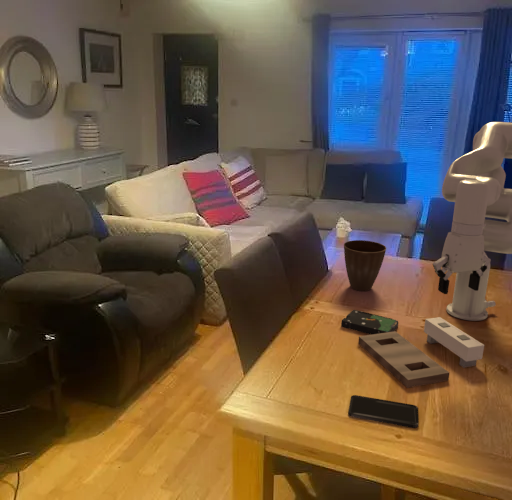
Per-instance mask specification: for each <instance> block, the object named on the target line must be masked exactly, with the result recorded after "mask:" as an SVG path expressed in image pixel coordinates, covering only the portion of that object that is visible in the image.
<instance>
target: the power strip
mask: <svg viewBox="0 0 512 500" xmlns="http://www.w3.org/2000/svg"><path fill="white" fill-rule="evenodd" d="M423 332H424V333H425V334H427V335H426V336H427V337H426V342H427V343H429V344H430V345H431V344H436V343H437V344H438V343H439V344H441V345H442V346H443V347H445V348H446V349H448V350H449V351H450V352H452V353H453V354H455V355H456V356H458V357H459V366H461V367H462V368H463V369H464V368H469V367H474V366H477V360H482V359H483V356H484V355H483V354H484V350H485V344H484V343H482V342H480V341H479V340H477V339H475V338H474V337H472V336H470V334H467V333H466V332H464V331H463V330H461V329H460V328H458V327H457V326H455V325H453V324H451V323H450V322H448V321H447V320H446V319H444V318H442V317H441V316H438V317H430V318H429V317H428V318H425V321H424V326H423Z"/></svg>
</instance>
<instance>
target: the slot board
mask: <svg viewBox="0 0 512 500" xmlns="http://www.w3.org/2000/svg"><path fill="white" fill-rule="evenodd" d="M358 345H360V347H362V348H363V349H364V350H365V351H366V352H367V353H368V354H370V356H372V357H373V358H374V359H375V361H377V362H378V363H379V364H380V365H381V366H383V367H384V368H385V369H386V370H387V371H388V372H389V373H390V374H392V376H393V377H395V378H396V379H397V380H398V381H399V382H400V383H401V384H402V385H404V386H405V387H406V389H407V388H409V389H410V388H414V387H421V386H425V385H431V384H437V383H443V382H448V381H449V379H450V372H449V370H447V369H446V368H444V367H443V366H442V365H440V364H439V363H438V362H437V361H435V360H434V359H432V358H431V357H430V356H429V355H427V354H426V353H425V352H424V351H422V350H421V349H419V348H418V347H417V346H416V345H414V344H413V343H412V342H410V341H409V340H407V339H406V338H405V337H404V336H403V335H401V334H400V333H399V332H397V331H396V330H395V331H394V332H387V333H380V334H373V335H371V334H367V335H359V336H358Z"/></svg>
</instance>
